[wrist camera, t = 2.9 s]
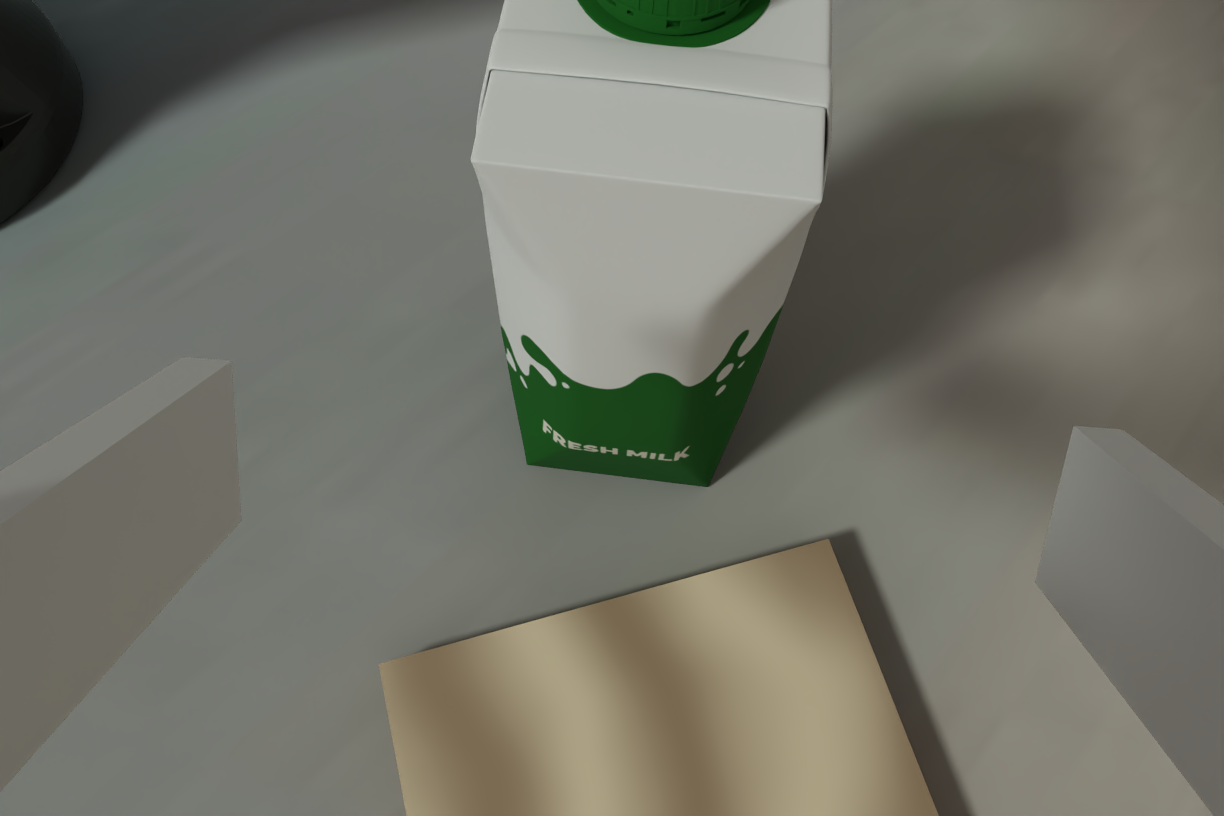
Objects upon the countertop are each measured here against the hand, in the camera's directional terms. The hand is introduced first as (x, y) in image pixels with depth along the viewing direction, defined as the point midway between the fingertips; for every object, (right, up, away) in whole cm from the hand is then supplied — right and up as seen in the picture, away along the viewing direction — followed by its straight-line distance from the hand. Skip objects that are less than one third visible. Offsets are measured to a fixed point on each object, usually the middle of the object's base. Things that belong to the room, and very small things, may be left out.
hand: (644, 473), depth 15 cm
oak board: (+2, -13, +16) cm, 21 cm away
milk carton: (0, +1, +23) cm, 23 cm away
